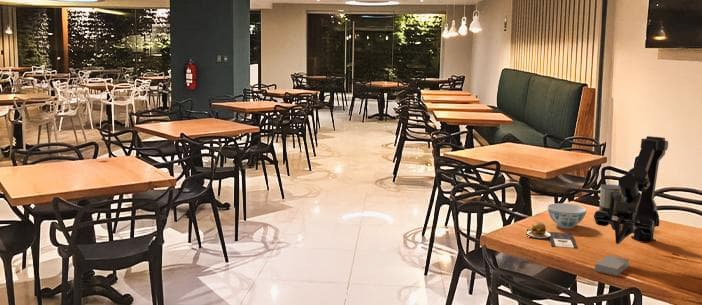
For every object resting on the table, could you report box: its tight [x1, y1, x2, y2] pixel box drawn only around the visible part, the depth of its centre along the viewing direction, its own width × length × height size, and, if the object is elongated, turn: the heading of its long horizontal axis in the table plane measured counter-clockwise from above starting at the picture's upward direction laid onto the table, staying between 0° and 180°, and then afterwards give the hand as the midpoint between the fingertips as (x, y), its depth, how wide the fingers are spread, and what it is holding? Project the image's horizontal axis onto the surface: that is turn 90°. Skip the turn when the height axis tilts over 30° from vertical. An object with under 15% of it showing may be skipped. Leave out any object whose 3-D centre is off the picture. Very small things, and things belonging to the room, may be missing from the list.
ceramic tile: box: [594, 254, 630, 277], centre depth 211 cm, size 3×7×12 cm
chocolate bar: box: [547, 231, 578, 249], centre depth 241 cm, size 9×1×18 cm
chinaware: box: [547, 202, 587, 230], centre depth 259 cm, size 15×15×8 cm
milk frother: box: [598, 183, 623, 224], centre depth 267 cm, size 14×16×15 cm
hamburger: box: [526, 221, 551, 242], centre depth 247 cm, size 12×12×6 cm
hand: (617, 243), depth 214 cm, fingers closed
